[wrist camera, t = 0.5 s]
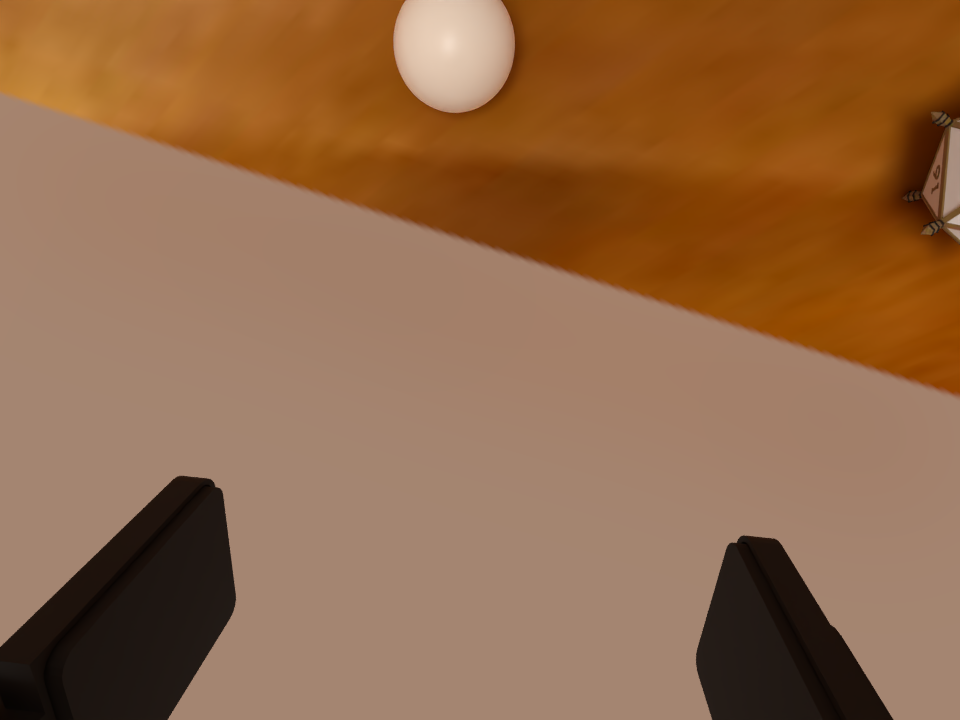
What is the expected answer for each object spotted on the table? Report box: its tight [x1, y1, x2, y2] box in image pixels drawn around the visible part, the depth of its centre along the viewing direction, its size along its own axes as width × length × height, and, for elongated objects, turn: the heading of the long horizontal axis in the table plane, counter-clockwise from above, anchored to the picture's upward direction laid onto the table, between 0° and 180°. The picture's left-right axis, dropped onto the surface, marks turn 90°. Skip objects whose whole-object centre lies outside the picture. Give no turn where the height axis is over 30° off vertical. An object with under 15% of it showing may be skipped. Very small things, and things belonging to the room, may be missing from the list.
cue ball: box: [393, 0, 515, 113], centre depth 26 cm, size 6×6×6 cm
